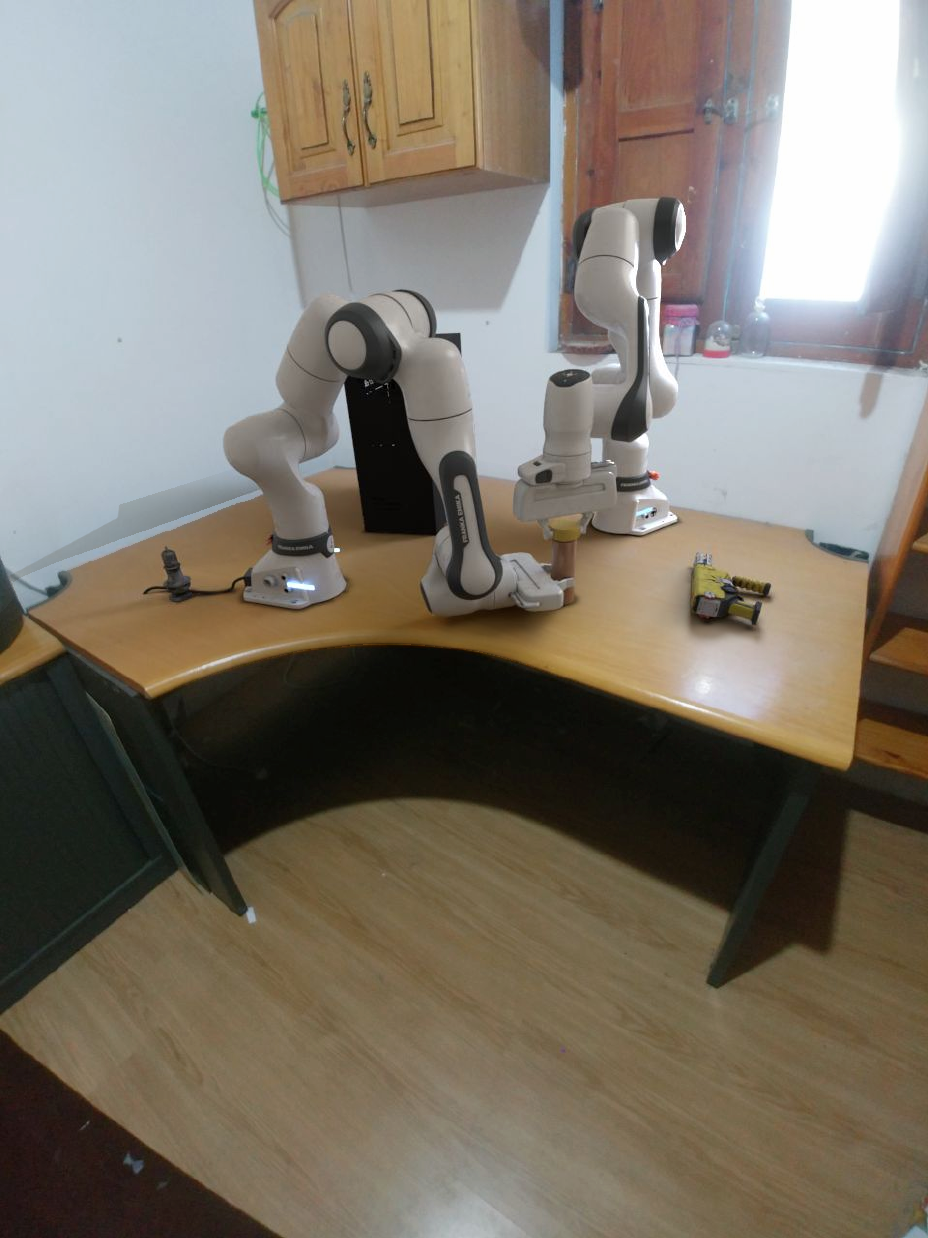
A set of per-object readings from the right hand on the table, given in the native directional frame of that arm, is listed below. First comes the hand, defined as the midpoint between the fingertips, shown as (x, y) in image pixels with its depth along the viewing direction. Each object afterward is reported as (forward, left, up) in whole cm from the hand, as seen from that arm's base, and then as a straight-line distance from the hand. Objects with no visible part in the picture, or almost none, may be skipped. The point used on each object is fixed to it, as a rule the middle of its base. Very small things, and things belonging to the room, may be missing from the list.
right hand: (564, 535), depth 118 cm
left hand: (-1, 0, -9) cm, 9 cm away
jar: (0, 0, -14) cm, 14 cm away
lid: (0, 0, +2) cm, 2 cm away
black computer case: (+5, -68, -14) cm, 70 cm away
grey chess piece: (+72, -44, -14) cm, 86 cm away
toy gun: (-30, +16, -14) cm, 37 cm away
